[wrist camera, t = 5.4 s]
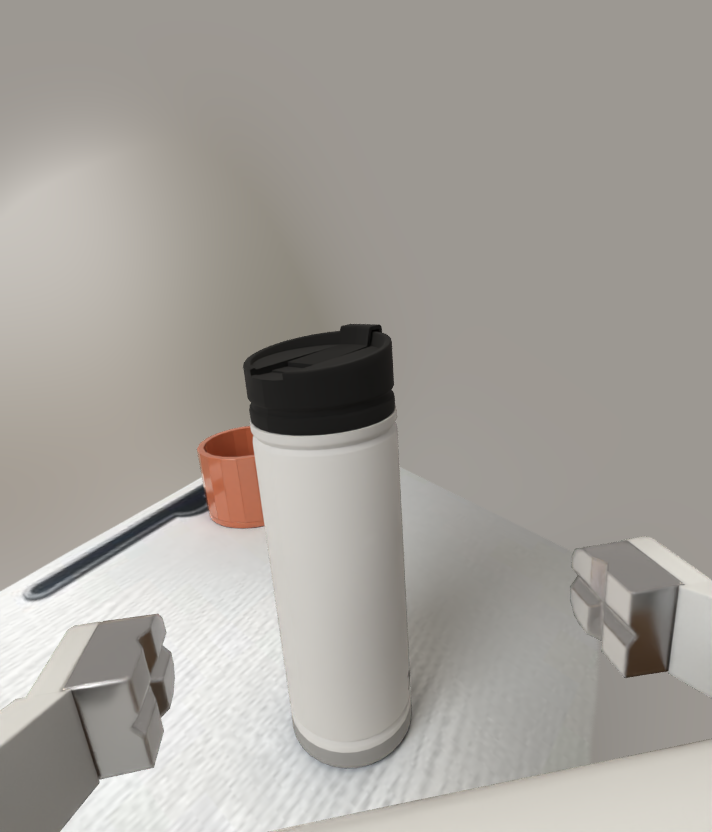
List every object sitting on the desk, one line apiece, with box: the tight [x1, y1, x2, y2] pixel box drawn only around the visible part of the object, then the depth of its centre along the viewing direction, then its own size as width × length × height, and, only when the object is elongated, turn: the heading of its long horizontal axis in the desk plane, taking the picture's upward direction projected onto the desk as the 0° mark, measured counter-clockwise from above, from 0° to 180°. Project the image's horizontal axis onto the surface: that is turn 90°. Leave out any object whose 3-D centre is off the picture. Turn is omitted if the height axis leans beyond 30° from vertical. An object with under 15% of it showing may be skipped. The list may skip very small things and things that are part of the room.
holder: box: [197, 426, 265, 528], centre depth 49 cm, size 10×10×7 cm
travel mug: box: [243, 324, 412, 768], centre depth 23 cm, size 6×7×20 cm
